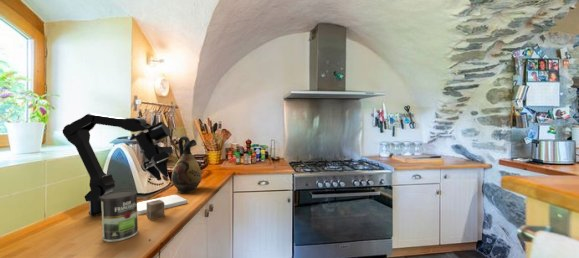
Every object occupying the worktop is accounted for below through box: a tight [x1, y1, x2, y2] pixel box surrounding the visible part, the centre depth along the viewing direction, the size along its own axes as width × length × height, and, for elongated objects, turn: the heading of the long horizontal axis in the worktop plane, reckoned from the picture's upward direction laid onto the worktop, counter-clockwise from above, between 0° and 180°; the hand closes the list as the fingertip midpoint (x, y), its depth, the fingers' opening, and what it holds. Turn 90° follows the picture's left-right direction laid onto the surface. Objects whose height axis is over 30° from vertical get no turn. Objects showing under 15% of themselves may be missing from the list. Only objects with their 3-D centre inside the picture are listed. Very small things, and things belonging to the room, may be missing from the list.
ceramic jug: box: [171, 135, 203, 194], centre depth 143 cm, size 17×15×30 cm
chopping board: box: [137, 194, 188, 216], centre depth 119 cm, size 20×13×2 cm, turn 135°
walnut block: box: [146, 200, 166, 221], centre depth 105 cm, size 5×5×6 cm
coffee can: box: [101, 189, 139, 243], centre depth 88 cm, size 10×10×14 cm
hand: (163, 178), depth 111 cm, fingers open, 9 cm apart
